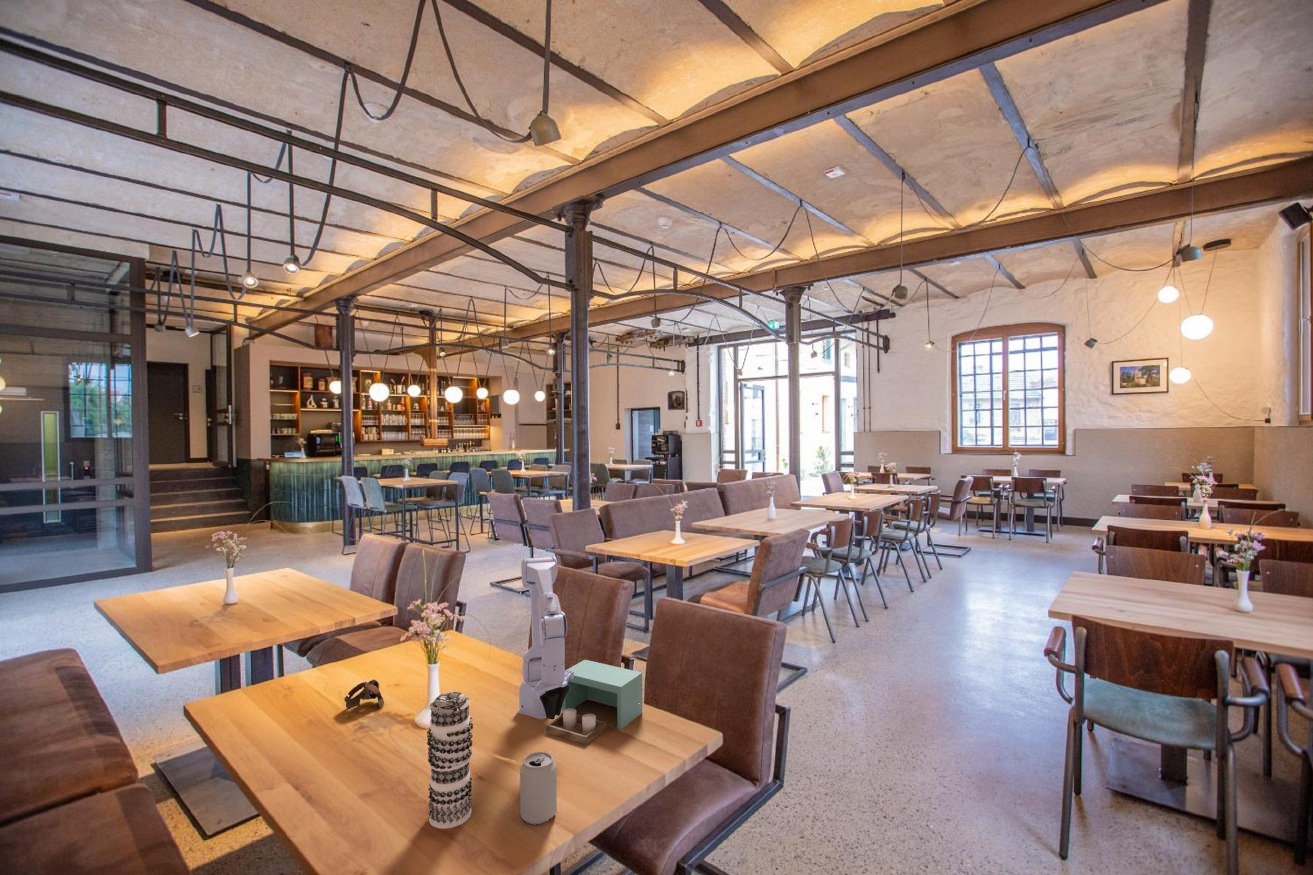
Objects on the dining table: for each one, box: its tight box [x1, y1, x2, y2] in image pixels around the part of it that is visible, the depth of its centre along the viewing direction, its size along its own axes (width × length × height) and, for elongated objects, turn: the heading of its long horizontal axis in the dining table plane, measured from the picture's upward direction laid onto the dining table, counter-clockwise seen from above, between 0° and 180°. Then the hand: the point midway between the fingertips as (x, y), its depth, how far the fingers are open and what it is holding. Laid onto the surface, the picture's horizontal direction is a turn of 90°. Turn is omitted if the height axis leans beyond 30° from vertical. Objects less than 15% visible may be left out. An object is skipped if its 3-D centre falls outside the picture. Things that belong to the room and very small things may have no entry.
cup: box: [562, 708, 577, 729], centre depth 163 cm, size 4×4×4 cm
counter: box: [561, 659, 643, 730], centre depth 170 cm, size 20×11×12 cm, turn 60°
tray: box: [545, 713, 607, 746], centre depth 160 cm, size 13×9×2 cm
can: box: [519, 751, 558, 825], centre depth 126 cm, size 8×8×12 cm
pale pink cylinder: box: [582, 713, 597, 735], centre depth 159 cm, size 4×4×4 cm
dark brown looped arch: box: [343, 679, 385, 710], centre depth 176 cm, size 12×10×8 cm
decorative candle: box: [426, 691, 474, 830], centre depth 126 cm, size 9×9×25 cm
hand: (553, 716), depth 152 cm, fingers closed
